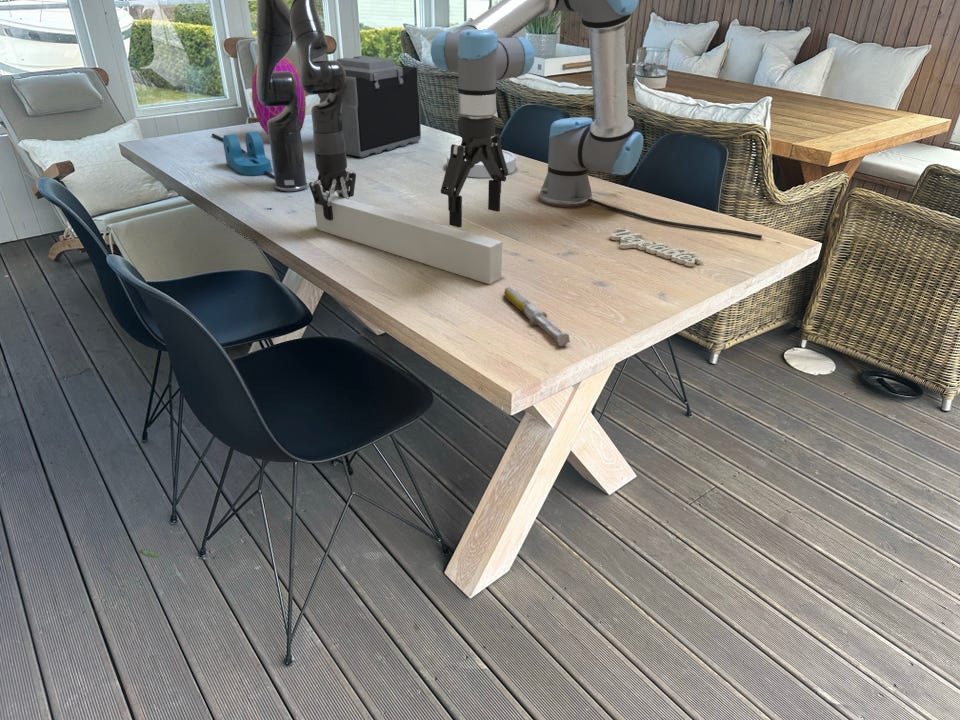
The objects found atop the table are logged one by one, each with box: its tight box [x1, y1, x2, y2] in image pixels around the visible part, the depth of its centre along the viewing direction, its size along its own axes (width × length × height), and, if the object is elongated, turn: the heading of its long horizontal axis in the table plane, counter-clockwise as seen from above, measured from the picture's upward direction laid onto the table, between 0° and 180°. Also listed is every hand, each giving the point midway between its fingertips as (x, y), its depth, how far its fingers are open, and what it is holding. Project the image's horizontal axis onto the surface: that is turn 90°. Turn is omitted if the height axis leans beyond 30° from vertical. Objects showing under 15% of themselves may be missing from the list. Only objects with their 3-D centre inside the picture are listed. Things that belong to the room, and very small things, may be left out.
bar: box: [313, 194, 503, 285], centre depth 164 cm, size 56×4×9 cm, turn 53°
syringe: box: [504, 285, 571, 348], centre depth 136 cm, size 25×4×3 cm, turn 21°
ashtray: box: [446, 149, 517, 179], centre depth 232 cm, size 23×23×4 cm
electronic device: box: [317, 55, 422, 159], centre depth 250 cm, size 37×22×30 cm, turn 144°
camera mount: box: [222, 131, 272, 176], centre depth 226 cm, size 18×10×10 cm, turn 35°
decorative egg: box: [251, 56, 307, 136], centre depth 257 cm, size 19×19×30 cm
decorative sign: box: [610, 227, 702, 267], centre depth 169 cm, size 26×1×10 cm
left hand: (336, 216), depth 176 cm, fingers closed on bar, 4 cm apart
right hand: (475, 218), depth 148 cm, fingers open, 13 cm apart
